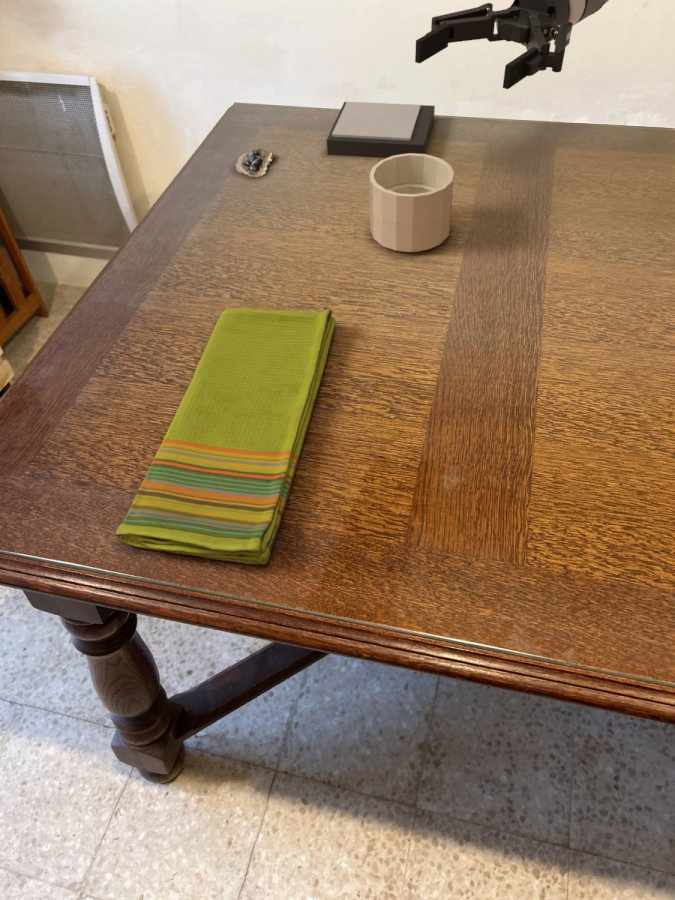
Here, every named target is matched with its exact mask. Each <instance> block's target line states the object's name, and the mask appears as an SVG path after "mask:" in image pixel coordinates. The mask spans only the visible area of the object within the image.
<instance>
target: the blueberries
mask: <svg viewBox="0 0 675 900" xmlns="http://www.w3.org/2000/svg"><path fill="white" fill-rule="evenodd" d="M274 158H275V154H274V152H270V151H267V150H264V149H263V148H258V149H252V150H251V151H248V150H243V151H242V152H241V153H240V155H239V156H238V157H237V160H236V163H235V168H236V170H235V171H236V172H239V174H244V175H246V176H248V177H250V178H254V179H255V178H260V177H263V176H264V175H266V173H267V172H266V171H267V170H268V165H269V164H270V162H272V161H273V159H274Z"/></svg>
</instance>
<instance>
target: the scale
mask: <svg viewBox="0 0 675 900" xmlns="http://www.w3.org/2000/svg"><path fill="white" fill-rule="evenodd" d="M435 107H436V105H428V104H427V105H424V104H412V103H411V104H408V103H389V102H388V103H387V102H386V103H385V102H363V101H360V102H359V101H344V102H343V103H342V106H341V108H340V110H339V112H338V114H337V116H336V119H335V121H334V123H333V125H332V128H331V130H330V132H329V134H328V135H327V138H326V149H327V155H333V156H335V155H336V156H352V157H369V158H384V159H386V158H388V157H391V156H394V155H400V154H408V153H415V154H426V151H427V147H428V143H429V140H430V136H431V133H432V129H433V125H434V121H435V110H436V109H435Z"/></svg>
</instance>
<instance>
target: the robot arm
mask: <svg viewBox="0 0 675 900" xmlns="http://www.w3.org/2000/svg"><path fill="white" fill-rule="evenodd" d="M609 1H610V0H514V1H513V2H512V3H511V5H510V6H509V7H507V8H504V9H501V10H493V9H494V8H493V7H494V4H493V3H491V2H486V3H484V4H481V5H479V6H477V7H472V8H468V9H463V10H458V11H454V12H450V13H445V14H441V15H436V16H432V17H431V25H430V26H431V27H430V31H428V32H427V33H425V35H423V36H421V37H420V38H418V39H415V55H414V57H415V58H414V62H415V63H416V64H423V62H425V61H427V60H428V59H430V58H432V57H434V56H435V55H437V54H438V53H440V52H442V51H444V50H446V49H447V48H448V47H449V44H450V43H451V44H452V43H459V42H468V41H469V42H470V41H476V40H477V41H479V40H486V39H487V41H488V42H489V43H492V42H501V41H505V42H513V43H517V44H520V45H522V46H524V47H525V48H526V51H525V52H523V53H521V54H520V55H519V56H517V57H515V59H513V60H511V61H509V62H508V63H506V64H505V66H504V75H503V82H502V89H506V90H509V89H511V88H512V87H514V86H515V85H517V84H518V83H520V82H521V81H522V80H524V79H525V78H526V77H532V76H534V75H535V74H536V73H538V72H540V71H543V72H544V71H546V70H547V68H551V72H554V73H561V72H562V70H563V64H564V58H565V55H566V54H565V53H566V47H567V46H569V45H570V42H571V41H570V40H571V35H572V31H573V27H574V26H575V25H578V24H579V23H580V22H582V21H583V20H585V19H586V18H588V17H591V15H594V14H595V13H597V12H598V11H600V10H601V9H602V8H603V6H604V5H606V4H607V3H608V2H609ZM495 26H496V33H495ZM552 41H554V42H553V46H554V49H553V50H554V51H551V50H550V49H551V42H552Z"/></svg>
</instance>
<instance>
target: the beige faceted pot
mask: <svg viewBox="0 0 675 900" xmlns="http://www.w3.org/2000/svg"><path fill="white" fill-rule="evenodd" d="M368 178H369V220H370V221H369V229H370V232H371V236H372V238H373V240H374V241H376V242H377V243H378V244H379V245H381V246H382V247H383V248H384V247H385V248H387V249H389V250H393V251H396V252H400V253H401V252H402V253H418V252H423V251H427V250H430V249H432V248H436V247H437V246H440V245H441V244H442V243H443V242H444V241H445V240H446V239H447V238H448V237H449V234H450V231H451V230H450V229H451V222H452V221H451V220H452V208H453V196H454V183H455V170H454V169H453V168H452V166H451V164H450V163H448V162H447V161H445V160H444V159H443V158H441V157H437V156H434V155H431V154H426V153H425V154H415V153H408V154H400V155H394V156H391V157H388V158H383V159H381V160H380V161H379V162H377V163H376V164H375V165H373V166H372V167H371V170H370V173H369V177H368Z"/></svg>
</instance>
